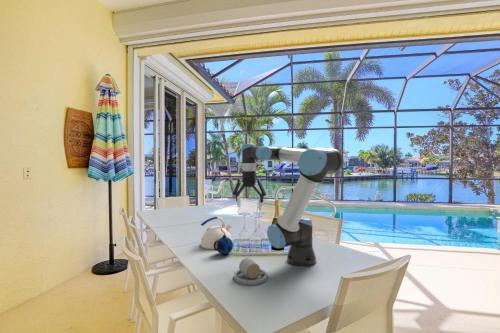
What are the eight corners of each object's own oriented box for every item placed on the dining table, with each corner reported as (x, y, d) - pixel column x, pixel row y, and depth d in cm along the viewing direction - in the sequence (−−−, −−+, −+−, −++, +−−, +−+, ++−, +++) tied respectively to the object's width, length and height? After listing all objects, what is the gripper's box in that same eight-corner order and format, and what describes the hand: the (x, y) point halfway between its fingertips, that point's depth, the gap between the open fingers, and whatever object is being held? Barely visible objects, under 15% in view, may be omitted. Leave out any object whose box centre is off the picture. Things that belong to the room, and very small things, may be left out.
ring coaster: (273, 273, 131) (273, 270, 131) (260, 288, 116) (259, 284, 116) (242, 269, 138) (242, 265, 138) (226, 281, 123) (226, 277, 123)
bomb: (212, 253, 162) (211, 227, 162) (229, 250, 167) (228, 225, 167) (218, 258, 154) (217, 231, 154) (235, 255, 159) (235, 228, 159)
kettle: (237, 246, 176) (237, 217, 175) (205, 251, 166) (205, 221, 166) (226, 238, 194) (225, 212, 193) (196, 242, 185) (196, 215, 184)
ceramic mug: (247, 281, 121) (247, 264, 121) (238, 275, 129) (238, 258, 128) (267, 277, 126) (267, 260, 126) (258, 271, 134) (258, 255, 134)
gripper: (271, 170, 158) (272, 207, 158) (232, 170, 168) (233, 205, 168) (266, 170, 151) (267, 209, 151) (226, 170, 161) (227, 207, 162)
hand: (249, 207), depth 160 cm, fingers open, 13 cm apart
